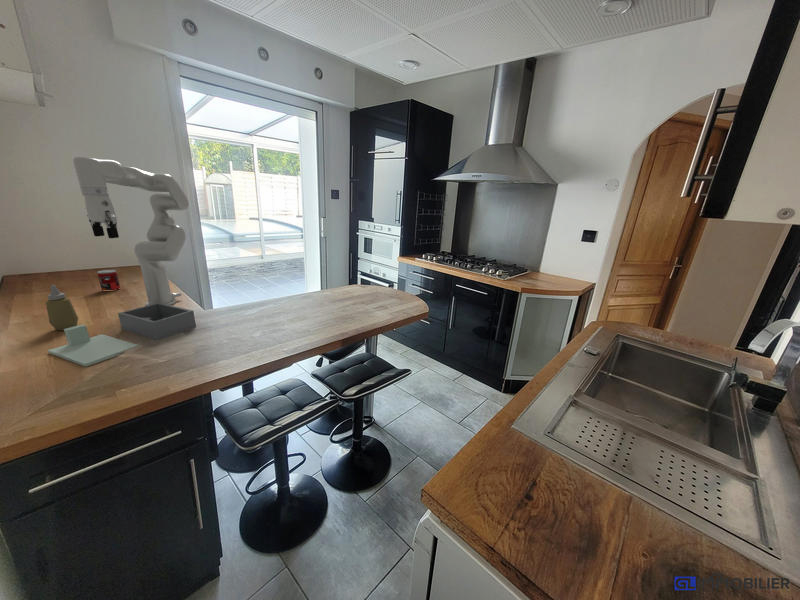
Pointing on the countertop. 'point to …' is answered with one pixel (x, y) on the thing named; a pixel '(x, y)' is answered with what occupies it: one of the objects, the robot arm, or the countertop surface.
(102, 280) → the canned food
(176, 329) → the tub
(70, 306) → the squeeze bottle
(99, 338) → the lid
